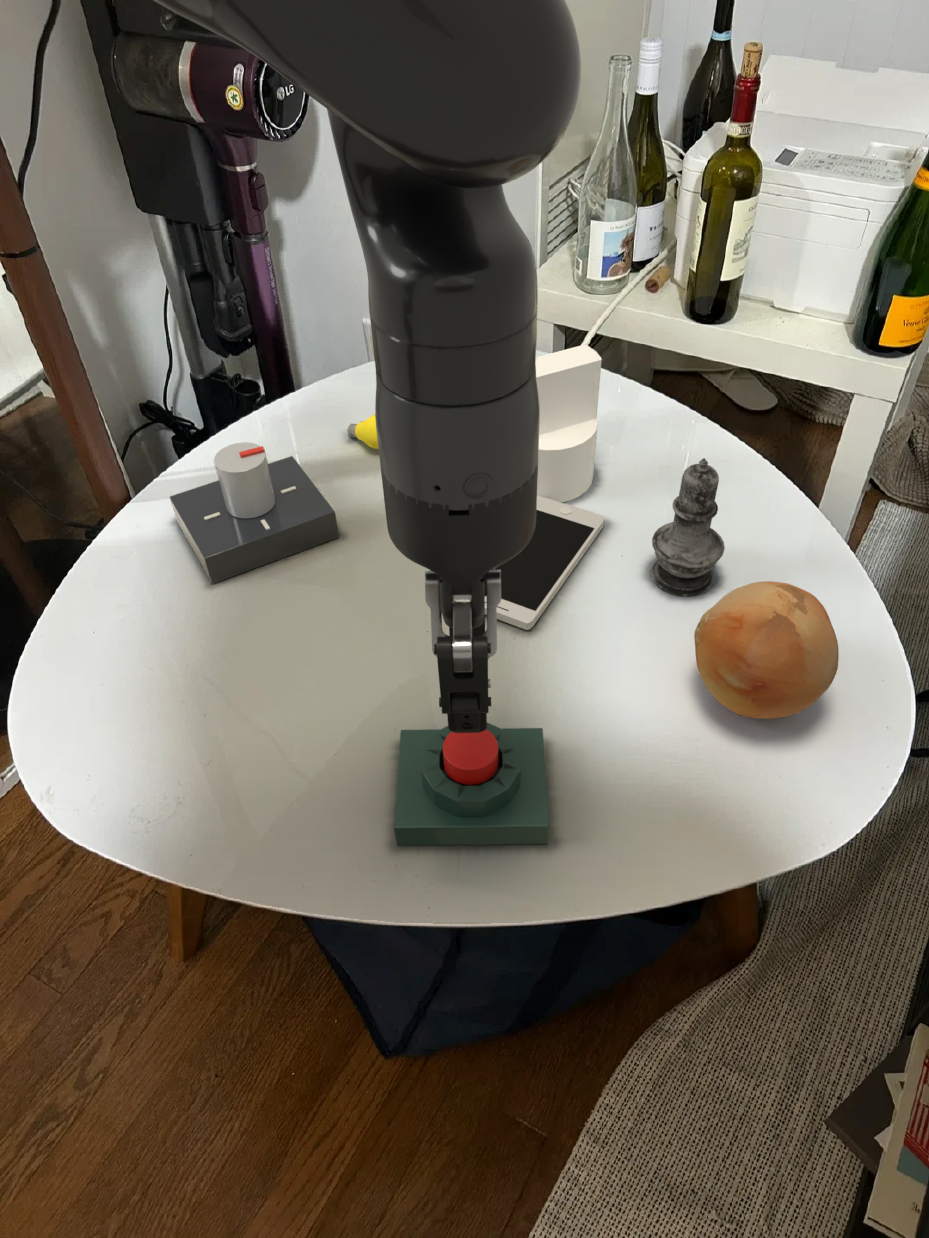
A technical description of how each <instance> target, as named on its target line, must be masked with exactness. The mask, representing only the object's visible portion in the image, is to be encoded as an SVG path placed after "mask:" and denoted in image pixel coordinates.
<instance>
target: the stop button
mask: <svg viewBox="0 0 929 1238" xmlns="http://www.w3.org/2000/svg"><path fill="white" fill-rule="evenodd" d="M443 759H444V768H445V771H446V773H447V774H448V775H449V777H450V778H451V779H453V780H454V781H456V782H458V783H460V784H464V785H478V784H481V783H484V782H486V781H487V780H489V779H490V778H491V777H492V776H493V775H494V774H495V772H496V770H497V768H498V743H497V740H496V738H495V737H494V735H493V734H492V733H491V732H489V731H488V730H484V731H482V732H480V733H455V732H451V733H450V734H449V735H448V736H447V737H446V739H445V741H444V744H443Z"/></svg>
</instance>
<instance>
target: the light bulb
mask: <svg viewBox="0 0 929 1238" xmlns="http://www.w3.org/2000/svg"><path fill="white" fill-rule="evenodd" d="M346 431H347V435H348V436H349V437H350V438H357V439H358V440H359V441H362V442H363V443H364V444H365V445H367V446H368V447H369V448H371V449H375V450H379V448H378V439H377V430H376V419H375V414H372V415H371V416H369V417H368V418H366V419H365V420H362V421H359V422H358V423H349V425H348V426H347V429H346Z"/></svg>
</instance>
